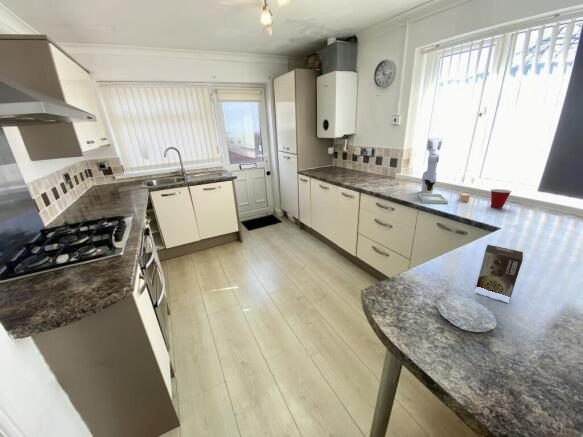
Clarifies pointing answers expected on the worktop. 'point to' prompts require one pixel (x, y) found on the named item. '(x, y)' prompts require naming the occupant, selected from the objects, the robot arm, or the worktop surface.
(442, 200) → the grey tray
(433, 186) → the oak block
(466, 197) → the terracotta block
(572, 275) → the worktop surface
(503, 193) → the plastic cup
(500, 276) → the coffee box
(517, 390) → the worktop surface
